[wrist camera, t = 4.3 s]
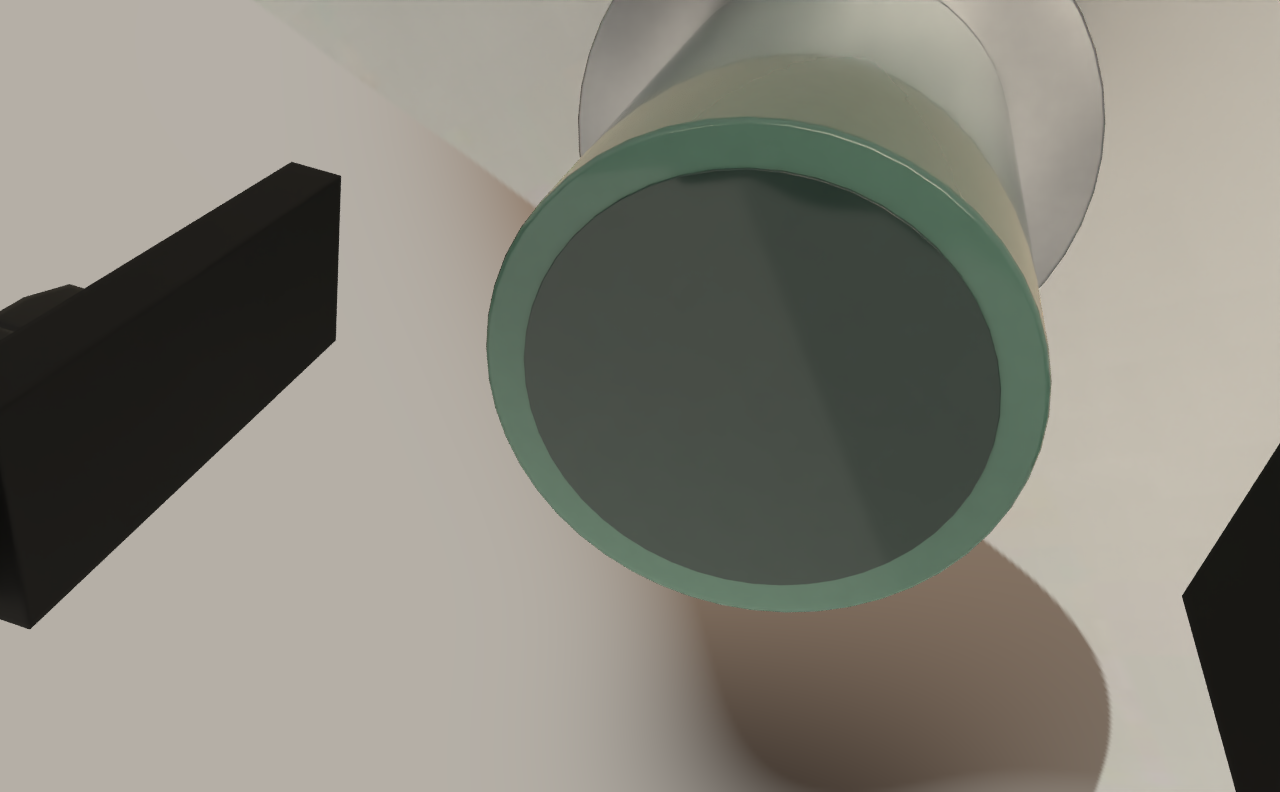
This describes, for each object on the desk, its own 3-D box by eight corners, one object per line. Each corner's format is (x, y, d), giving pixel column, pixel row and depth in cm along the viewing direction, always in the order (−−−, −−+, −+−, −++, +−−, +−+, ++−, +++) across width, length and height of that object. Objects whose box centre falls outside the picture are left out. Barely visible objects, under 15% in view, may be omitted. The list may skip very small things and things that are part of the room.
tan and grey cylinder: (676, -172, 38) (475, -116, 22) (1064, -255, 34) (1169, -261, 18) (730, 175, 44) (603, 421, 28) (1065, 139, 40) (1144, 399, 24)
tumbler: (624, -1, 22) (417, 157, 14) (1005, -64, 20) (1049, 77, 11) (685, 322, 26) (552, 612, 17) (1015, 300, 24) (1054, 622, 15)
